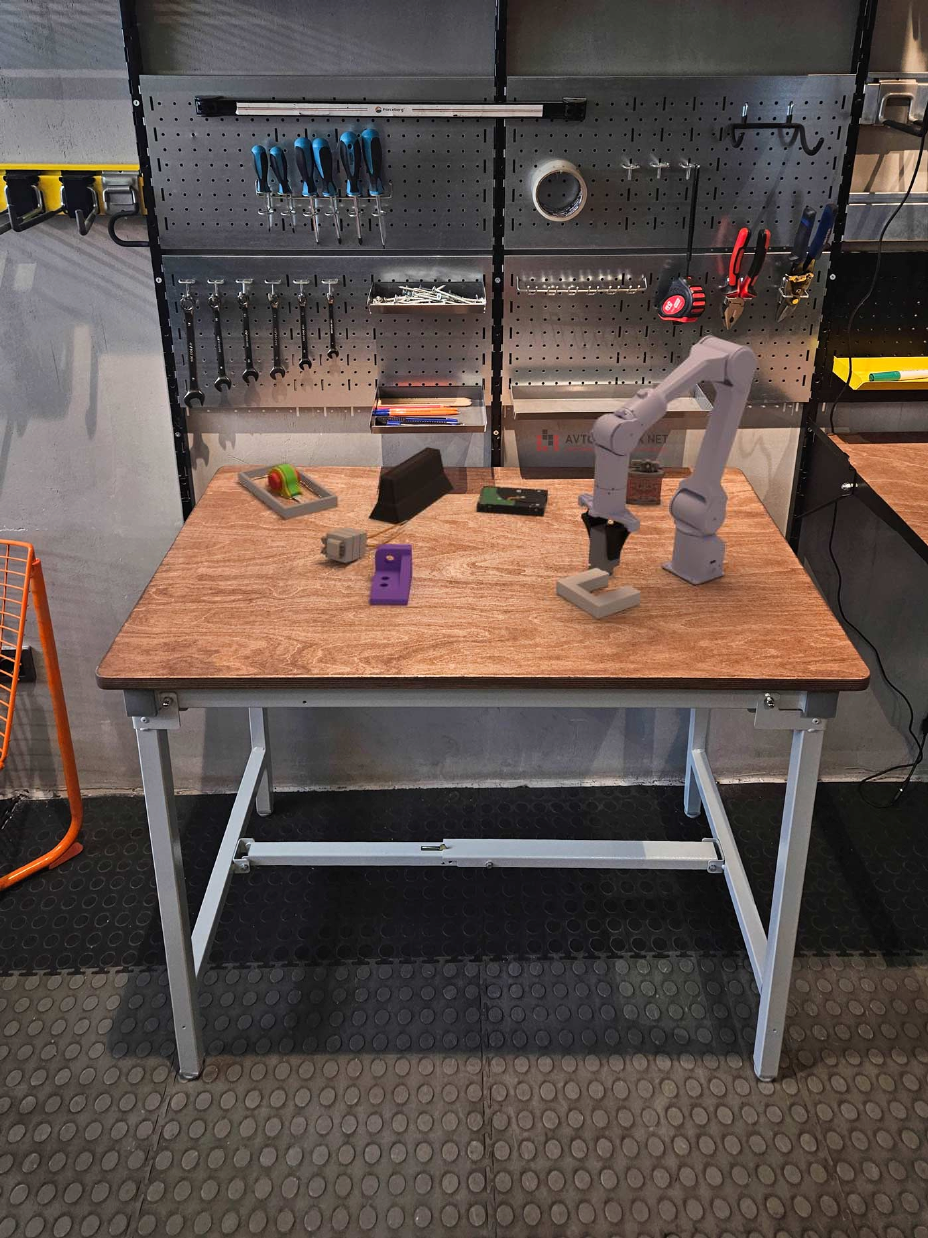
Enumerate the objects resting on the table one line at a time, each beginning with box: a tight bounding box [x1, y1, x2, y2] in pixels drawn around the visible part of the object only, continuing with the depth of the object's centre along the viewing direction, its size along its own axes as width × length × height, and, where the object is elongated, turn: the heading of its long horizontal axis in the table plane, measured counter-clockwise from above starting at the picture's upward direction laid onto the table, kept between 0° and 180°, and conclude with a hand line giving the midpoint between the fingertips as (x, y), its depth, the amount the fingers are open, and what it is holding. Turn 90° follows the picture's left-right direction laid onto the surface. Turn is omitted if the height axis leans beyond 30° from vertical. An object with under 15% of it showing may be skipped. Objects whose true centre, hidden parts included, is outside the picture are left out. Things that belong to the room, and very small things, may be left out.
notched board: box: [555, 568, 642, 620], centre depth 187 cm, size 12×10×2 cm
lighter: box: [625, 458, 665, 507], centre depth 224 cm, size 8×3×10 cm, turn 84°
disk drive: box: [476, 485, 549, 517], centre depth 225 cm, size 10×3×15 cm
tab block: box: [588, 522, 622, 571], centre depth 183 cm, size 4×4×7 cm
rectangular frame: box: [237, 460, 339, 520], centre depth 230 cm, size 26×13×2 cm, turn 34°
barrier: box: [368, 446, 455, 527], centre depth 224 cm, size 24×9×10 cm, turn 152°
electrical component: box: [319, 520, 411, 564], centre depth 207 cm, size 24×6×5 cm, turn 150°
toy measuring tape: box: [266, 464, 310, 504], centre depth 227 cm, size 6×19×7 cm, turn 41°
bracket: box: [369, 543, 413, 606], centre depth 189 cm, size 12×7×7 cm, turn 178°
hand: (604, 554), depth 183 cm, fingers closed on tab block, 4 cm apart
